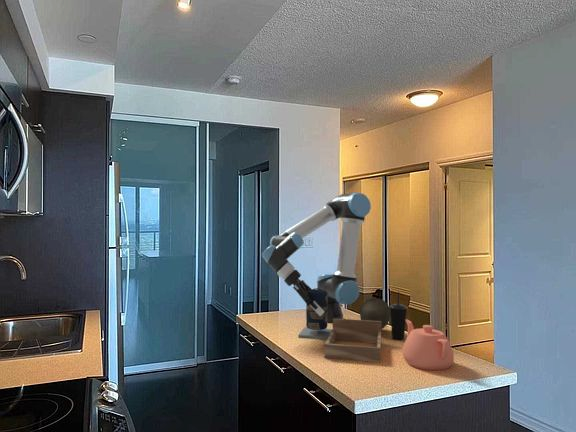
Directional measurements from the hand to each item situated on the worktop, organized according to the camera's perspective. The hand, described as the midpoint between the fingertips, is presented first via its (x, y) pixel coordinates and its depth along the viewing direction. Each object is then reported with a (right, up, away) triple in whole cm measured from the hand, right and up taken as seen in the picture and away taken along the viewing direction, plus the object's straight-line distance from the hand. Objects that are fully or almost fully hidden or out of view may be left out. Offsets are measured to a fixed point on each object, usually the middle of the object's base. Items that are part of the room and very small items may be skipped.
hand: (324, 311), depth 195 cm
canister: (-3, -8, +1) cm, 9 cm away
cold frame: (+10, -10, -23) cm, 27 cm away
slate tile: (-3, -10, +1) cm, 11 cm away
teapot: (+33, -10, -37) cm, 51 cm away
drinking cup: (+31, -11, -5) cm, 34 cm away
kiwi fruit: (+24, -11, +7) cm, 27 cm away
